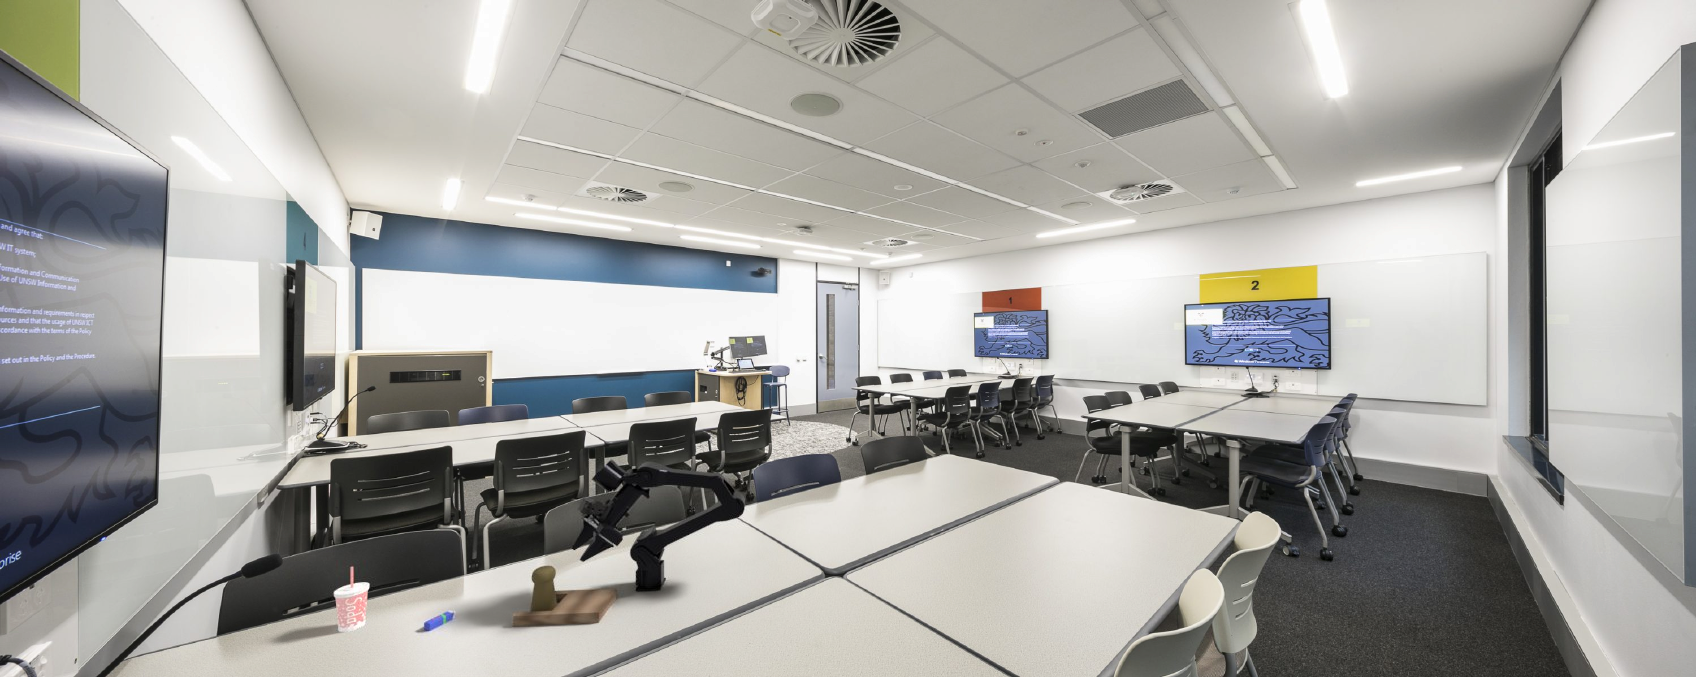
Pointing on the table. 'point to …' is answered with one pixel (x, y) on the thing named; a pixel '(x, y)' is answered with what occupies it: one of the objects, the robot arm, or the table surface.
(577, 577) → the table surface
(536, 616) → the notched board
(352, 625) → the beverage cup
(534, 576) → the cork
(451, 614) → the eraser
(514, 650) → the table surface
